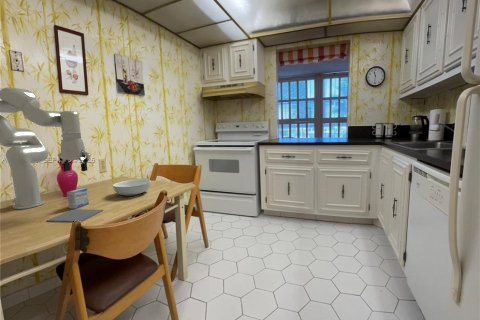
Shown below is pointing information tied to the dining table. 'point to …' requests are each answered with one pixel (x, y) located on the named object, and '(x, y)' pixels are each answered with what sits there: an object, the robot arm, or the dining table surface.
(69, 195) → the medicine box
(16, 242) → the dining table surface
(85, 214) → the slate mat
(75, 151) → the robot arm
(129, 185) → the serving bowl
